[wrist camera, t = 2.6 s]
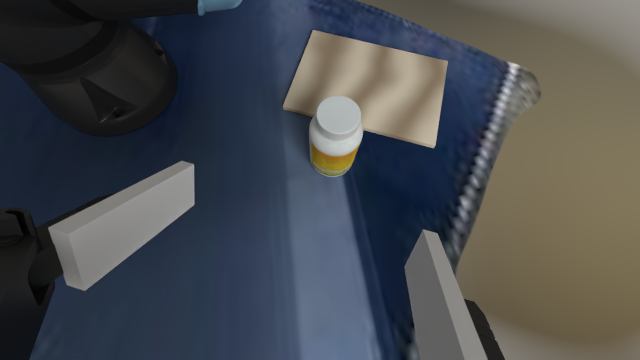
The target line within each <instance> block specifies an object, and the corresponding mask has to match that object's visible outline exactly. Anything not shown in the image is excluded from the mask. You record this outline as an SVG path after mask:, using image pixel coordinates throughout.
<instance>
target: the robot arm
mask: <svg viewBox="0 0 640 360" xmlns="http://www.w3.org/2000/svg"><path fill="white" fill-rule="evenodd" d="M241 2H242V0H0V62H2V63H3V64H5V65H7V66H8V67H10V68H11V69H12V70H14V71H15V72H17V73H18V74H19V75H20V77H21V78H22V79H23V80H24V81H25V82H26V83H27V85H28V86H29V87H30V88H31V89H32V90H33V92H34V93H35V94H36V95H37V96H38V97H39V98H40V100H41V101H42V102H43V103H44V104H45V105H46V106H47V108H48V109H49V110H50V111H51V112H52V113H53V114H54V115H55V116H56V117H58V118H59V119H60V120H62V121H63V122H65V123H67V124H68V125H70V126H72V127H74V128H75V129H77V130H79V131H81V132H83V133H86V134H90V135H95V136H114V135H120V134H124V133H128V132H131V131H134V130H136V129H138V128H141V127H143V126H144V125H146V124H148V123H149V122H151V121H152V120H154V119H155V118H156V117H157V116H159V115H160V114H161V113H162V112H163V111H164V110H165V108H166V107H167V106H168V105H169V103H170V102H171V100H172V98H173V96H174V94H175V91H176V88H177V83H178V75H177V70H176V67H175V65H174V63H173V61H172V60H171V58H170V57H169V55H168V54H167V53H166V51H165V50H164V48H163V47H162V46H161V45H160V44H159V43H158V42H157V41H156V40H154V39H153V38H152V37H151V36H149V35H148V34H147V33H146V32H144V31H143V30H142V29H140V28H139V27H138V26H137V25H135V24H134V23H133V22H132V21H130V20H129V19H131V18H142V17H154V16H166V15H178V14H190V13H198V15H199V16H202V15H204V14H205V13H206V12H212V11H219V10H227V9H232V8H235V7H237V6H238V5H239V4H240V3H241ZM193 205H194V164H191V163H187V162H184V161H180V162H178V163H176V164H174V165H172V166H170V167H168V168H166V169H164V170H162V171H160V172H158V173H156V174H154V175H152V176H150V177H148V178H146V179H144V180H142V181H140V182H138V183H136V184H134V185H132V186H130V187H128V188H126V189H124V190H122V191H120V192H118V193H116V194H110V195H106V196H103V197H99V198H96V199H94V200H92V201H90V202H88V203H86V204H85V205H82V206H80V207H78V208H76V209H75V210H71V211H69V212H67V213H65V214H63V215H61V216H59V217H57V218H55V219H53V220H51V221H49V222H47V223H44V224H42V225H40V226H38V227H36V228H35V226H34V223H33V220H32V217H31V214H30V212H28V211H27V210H25V209H21V208H5V209H0V360H29V358H30V356H31V353H32V350H33V347H34V344H35V342H36V339H37V336H38V333H39V330H40V328H41V325H42V322H43V319H44V317H45V314H46V311H47V308H48V305H49V303H50V300H51V297H52V294H53V291H54V289H55V282H54V280H55V279H56V278H58V277H59V276H61V275H62V274H63V275H64V278H65V281H66V284H67V285H69V286H72V287H74V288H77V289H80V290H83V291H85V290H87V289H88V288H89V287H90V286H92V285H93V284H94V283H95V282H97V281H98V280H99V279H101V278H102V277H103V276H104V275H106V274H107V273H108V272H109V271H111V270H112V269H113V268H115V267H116V266H117V265H118V264H120V263H121V262H122V261H123V260H125V259H126V258H127V257H129V256H130V255H131V254H132V253H134V252H135V251H136V250H137V249H139V248H140V247H141V246H143V245H144V244H145V243H146V242H148V241H149V240H150V239H151V238H153V237H154V236H155V235H157V234H158V233H159V232H160V231H162V230H163V229H164V228H165V227H167V226H168V225H169V224H171V223H172V222H173V221H174V220H176V219H177V218H178V217H179V216H181V215H182V214H183V213H185V212H186V211H187V210H188V209H190V208H191V207H192V206H193ZM405 273H406V279H407V285H408V291H409V297H410V302H411V308H412V314H413V320H414V326H415V332H416V338H417V344H418V350H419V356H420V360H505V359H504V356H503V354H502V352H501V350H500V348H499V345H498V343H497V341H496V340H495V337H494V335H493V332H492V330H491V329H490V326H489V324H488V321H487V319H486V317H485V315H484V313H483V312H482V311H481V310H480V309H479V307H478V306H477V305H476V303H475V302H473V301H469V300H466V299H463V296H462V294H461V291H460V289H459V286H458V284H457V281H456V279H455V276H454V274H453V271H452V269H451V266H450V264H449V261H448V259H447V256H446V254H445V251H444V249H443V246H442V244H441V241H440V239H439V236H438V234H437V233H434V232H430V231H427V230H423V231H422V233H421V235H420V237H419V239H418V241H417V243H416V245H415V247H414V249H413V251H412V253H411V255H410V257H409V259H408V261H407V263H406V265H405Z"/></svg>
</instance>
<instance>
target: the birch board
mask: <svg viewBox="0 0 640 360" xmlns="http://www.w3.org/2000/svg"><path fill="white" fill-rule="evenodd" d="M447 63H448V61H445V60H440V59H436V58H432V57H427V56H423V55H419V54H414V53H410V52H406V51H402V50H397V49H393V48H389V47H384V46H380V45H376V44H371V43H367V42H363V41H359V40H354V39H350V38H346V37H341V36H337V35H333V34H328V33H324V32H320V31H316V30H313V31H312V34H311V36H310V39H309V41H308V44H307V47H306V49H305V52H304V54H303V57H302V59H301V62H300V64H299V67H298V69H297V72H296V74H295V77H294V79H293V82H292V84H291V87H290V89H289V92H288V94H287V97H286V99H285V102H284V104H283V109H284V110H288V111H292V112H296V113H299V114H303V115H307V116H311V117H314V115H315V114H316V111H317V108H318V106H319V104H320V103H321V102H322V101H323V100H324V99H326V98H328V97H331V96H345V97H348V98H350V99H352V100H353V101H354V102H355V103H356V104H357V105H358V106H359V108H360V111H361V124H362V128H363V130H365V131H369V132H373V133H377V134H381V135H385V136H388V137H392V138H396V139H400V140H404V141H408V142H412V143H416V144H419V145H423V146H427V147H431V148H434V147H435V145H436V138H437V131H438V124H439V117H440V111H441V104H442V97H443V90H444V83H445V77H446V70H447Z"/></svg>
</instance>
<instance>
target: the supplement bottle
mask: <svg viewBox="0 0 640 360" xmlns="http://www.w3.org/2000/svg"><path fill="white" fill-rule="evenodd" d="M362 135H363V128H362V124H361V111H360V108H359V106H358V105H357V104H356V103H355V102H354V101H353V100H352V99H350V98H348V97H345V96H331V97H328V98H326V99H324V100H323V101H322V102H321V103H320V104H319V106H318V108H317V111H316V114H315V115H314V117H313V118H312V120H311V122H310V126H309V146H310V161H311V164H312V166H313V167H314V169H315V170H316V171H318V172H319V173H320V174H322V175H324V176H328V177H337V176H341V175H343V174H344V173H346V172H347V171H348V170H349V168H350V167H351V165H352V163H353V161H354V158H355V155H356V153H357V150H358V147H359V145H360V142H361V139H362Z"/></svg>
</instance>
